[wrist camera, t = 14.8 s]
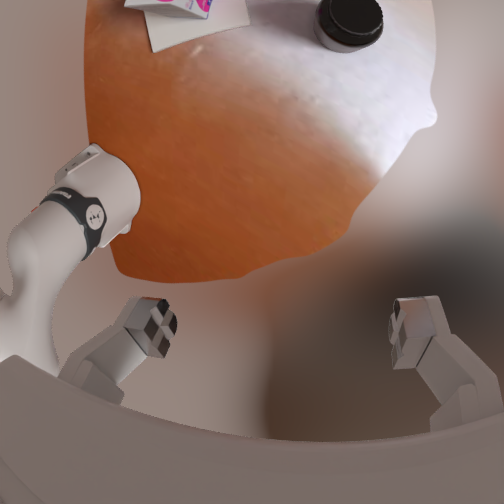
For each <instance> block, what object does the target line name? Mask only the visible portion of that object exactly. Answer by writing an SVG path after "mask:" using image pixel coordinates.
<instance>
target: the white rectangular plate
mask: <svg viewBox="0 0 504 504" xmlns="http://www.w3.org/2000/svg"><path fill="white" fill-rule="evenodd" d="M144 14H145V18H146V23H147V28H148V32H149V37H150V41H151V45H152V50H153V53H156V52H159V51H162V50H164V49H167V48H170V47H172V46H175V45H178V44H181V43H184V42H187V41H190V40H194V39H197V38H200V37H204V36H207V35H211V34H215V33H218V32H222V31H227V30H231V29H235V28H240V27H245V26H250V25H252V24H251V20H250V15H249V11H248V7H247V3H246V0H212V3H211V6H210V10H209V14H208V18H207V19H195V18H178V17H167V16H163V15H159V14H155V13H151V12H147V11H144Z"/></svg>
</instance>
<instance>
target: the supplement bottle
mask: <svg viewBox="0 0 504 504" xmlns="http://www.w3.org/2000/svg"><path fill="white" fill-rule="evenodd" d="M314 32H315V34H316V37H317V38H318V40H319V41H320V42H321V43H322V44H323V45H324V46H325V47H327V48H328V49H330V50H332V51H335V52H338V53H352V52H355V51H358V50H360V49H363V48H365V47H368V46H370V45H372V44H373V43H375V42H376V41H377V40H378V39H379V38H380V36H381V34H382V32H383V15H382V10H381V7H380V6H379V4H378V3H377V2H376V1H375V0H321V1H320V3H319V5H318V7H317V10H316V15H315V20H314Z"/></svg>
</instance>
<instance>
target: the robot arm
mask: <svg viewBox="0 0 504 504" xmlns="http://www.w3.org/2000/svg"><path fill="white" fill-rule="evenodd" d="M89 152H90V153H89ZM139 206H140V190H139V186H138V183H137V180H136V178H135V176H134V175H133V173H132V171H131V170H130V169H129V167H128V166H127V165H126V164H125V163H124V162H123V161H121V160H120V159H118V158H117V157H115V156H113V155H110V154H108V153H106V152H104V151H103V150H102V149H101V148H100V147H99V146H98V145H97V144H95V143H93V144H91V145H89V146H88V147H87V148H86V149H84V150H83V151H82V152H80V153H79V154H78V155H77V156H76V157H74V158H73V159H72V160H71V161H70V162H68V163H67V164H66V165H65V166H64V167H62V168H61V169H60V170H59V171H58V172H57V173H56V174H55V185H54V186H53V187H52V188H50V189H49V190H48V192H47V196H46V197H45V198H44V199H43V201H42V202H41V203H40V205H39V206H38V207H36V208H35V209H33V210H32V211H31V213H30V214H29V215H28V216H27V217H26V218H24V220H22V221H21V222H20V223H19V224H18V225H17V226H16V227H14V229H13V230H12V231H11V233H10V236H9V238H8V242H7V256H8V262H9V265H10V269H11V273H12V277H13V291H12V295H11V296H8V295H7V294H5V293H4V292H3V290H2V289H1V288H0V504H504V409H503V403H502V398H501V393H500V389H499V384H498V380H497V376H496V375H495V374H494V373H493V372H492V371H491V370H490V368H489V367H488V366H487V365H486V364H485V363H484V362H483V361H482V360H481V359H480V358H479V357H478V356H477V355H476V354H475V353H474V352H473V351H472V350H471V349H470V348H469V347H468V346H467V345H465V343H463V342H462V341H461V340H460V339H459V338H458V337H457V336H456V335H455V334H451V333H450V330H449V327H448V323H447V320H446V317H445V314H444V311H443V308H442V305H441V302H440V300H439V297H437V296H427V297H413V298H400V299H396V300H395V303H394V306H393V307H394V313H393V314H392V315H391V318H390V322H389V339H390V342H391V343H392V344H393V345H394V347H393V350H392V353H391V354H392V362H393V369H405V368H416V370H417V371H418V372H419V374H420V375H421V377H422V378H423V379H424V381H425V382H426V383H427V385H428V386H429V388H430V389H431V391H432V392H433V393H434V395H435V396H436V398H437V399H438V401H439V402H440V403H441V405H442V406H441V407H440V408H439V409H438V410H437V411H436V412H435V413H434V414H433V415H432V416H431V417H430V429H431V432H429V433H424V434H418V435H413V436H406V437H399V438H391V439H381V440H370V441H354V442H299V441H283V440H270V439H260V438H253V437H245V436H238V435H232V434H226V433H220V432H215V431H209V430H205V429H200V428H196V427H191V426H187V425H183V424H179V423H175V422H171V421H168V420H164V419H160V418H157V417H154V416H150V415H147V414H144V413H141V412H138V411H135V410H132V409H129V408H126V407H124V406H121V405H120V404H121V402H122V400H123V397H124V392H123V391H122V390H121V389H120V388H119V387H118V386H117V385H118V384H119V383H120V382H121V381H122V380H123V379H124V378H125V377H127V376H128V374H130V372H132V371H133V370H134V369H135V368H136V367H137V366H138V365H139V364H140V363H141V362H142V361H143V360H145V359H146V358H147V356H151V357H157V358H165V356H166V354H167V352H168V349H169V347H170V342H169V340H170V339H171V338H172V337H174V335H175V333H176V330H177V318H176V316H175V314H174V313H173V312H172V311H171V310H169V306H170V305H169V303H168V302H167V300H166V299H161V298H150V297H138V296H133V297H131V298H130V299H129V300H128V302H127V303H126V305H125V307H124V308H123V310H122V311H121V313H120V315H119V316H118V318H117V320H116V321H115V323H114V325H113V326H109V327H107V328H106V329H105V330H103V331H102V332H100V333H99V334H97V335H96V336H94V337H93V338H92V339H90V340H89V341H88V342H86V343H85V344H83V345H82V346H81V347H79V348H78V349H76V350H75V351H74V352H72V353H71V354H70V356H69V357H68V359H67V361H66V363H65V365H64V366H63V368H62V370H61V371H60V369H59V360H58V356H57V353H56V350H55V347H54V342H53V336H52V314H53V307H54V304H55V300H56V297H57V295H58V293H59V291H60V289H61V287H62V285H63V284H64V282H65V281H66V279H67V278H68V276H69V275H70V274H71V272H72V271H73V270H74V268H75V267H76V266H77V265H78V263H79V262H80V261H83V260H85V259H86V258H87V257H88V256H89V255H91V253H92V252H93V251H94V250H95V248H96V247H104V246H106V245H107V244H108V243H109V242H110V241H111V240H112V239H113V238H114V237H115V236H117V235H118V234H119V233H123V234H125V233H127V232H128V231H129V230H130V228H131V221H132V219H133V217H134V216H135V215H136V213H137V212H138V209H139ZM4 294H5V295H4ZM3 295H4V296H3ZM59 372H60V373H59Z"/></svg>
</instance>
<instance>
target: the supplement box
mask: <svg viewBox="0 0 504 504" xmlns="http://www.w3.org/2000/svg"><path fill="white" fill-rule="evenodd" d="M211 3H212V0H126V1H125V4H124V7H128V8H133V9H138V10H143V11H147V12H151V13H155V14H159V15H163V16H167V17H178V18H195V19H207V18H208V14H209V10H210V6H211Z"/></svg>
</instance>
